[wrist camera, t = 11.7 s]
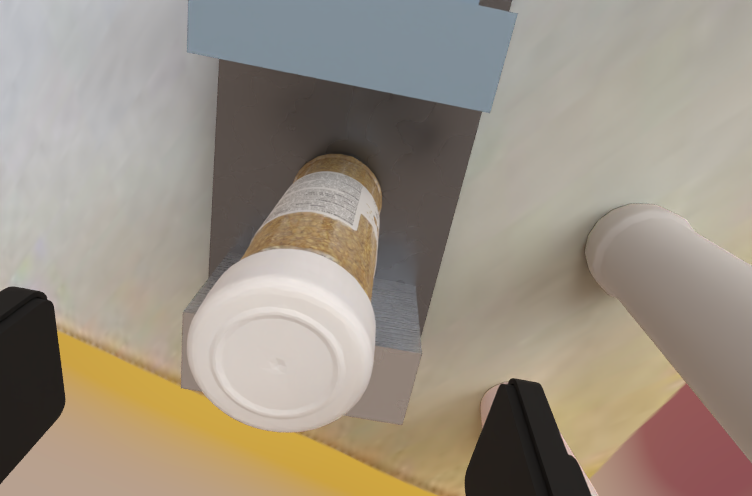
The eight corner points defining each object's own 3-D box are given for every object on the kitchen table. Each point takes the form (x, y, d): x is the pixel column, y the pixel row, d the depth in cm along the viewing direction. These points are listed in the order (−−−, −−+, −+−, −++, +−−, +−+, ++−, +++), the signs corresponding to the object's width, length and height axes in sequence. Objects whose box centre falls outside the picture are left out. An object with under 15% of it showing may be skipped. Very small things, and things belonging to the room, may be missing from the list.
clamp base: (257, -428, 16) (159, -771, 9) (595, -343, 17) (737, -608, 10) (215, 313, 28) (158, 401, 21) (412, 348, 29) (418, 444, 22)
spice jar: (370, 248, 25) (348, 457, 12) (283, 226, 24) (171, 418, 12) (393, 163, 23) (396, 310, 10) (300, 138, 22) (189, 259, 10)
